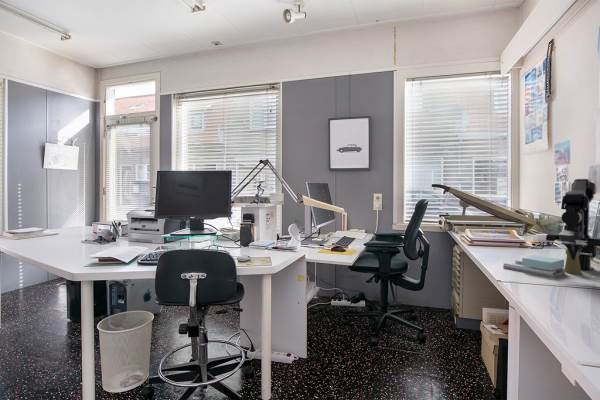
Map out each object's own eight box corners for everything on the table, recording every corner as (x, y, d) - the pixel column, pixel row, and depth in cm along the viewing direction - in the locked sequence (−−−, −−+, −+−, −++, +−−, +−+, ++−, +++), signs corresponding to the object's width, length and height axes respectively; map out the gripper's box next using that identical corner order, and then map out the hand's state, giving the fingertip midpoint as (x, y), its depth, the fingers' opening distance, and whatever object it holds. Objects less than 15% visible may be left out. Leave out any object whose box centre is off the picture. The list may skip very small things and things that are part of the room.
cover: (535, 262, 157) (535, 255, 157) (563, 267, 147) (564, 259, 147) (522, 265, 151) (522, 257, 151) (551, 270, 141) (551, 262, 141)
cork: (584, 274, 145) (585, 249, 144) (568, 274, 146) (569, 249, 146) (576, 271, 151) (576, 247, 150) (561, 270, 152) (561, 247, 152)
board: (516, 264, 164) (516, 260, 164) (564, 273, 147) (564, 268, 147) (503, 268, 158) (503, 263, 158) (551, 277, 141) (551, 271, 141)
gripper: (539, 222, 142) (539, 258, 143) (594, 226, 126) (594, 266, 127) (552, 220, 148) (551, 255, 148) (606, 224, 132) (605, 263, 132)
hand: (574, 259), depth 139 cm, fingers closed
